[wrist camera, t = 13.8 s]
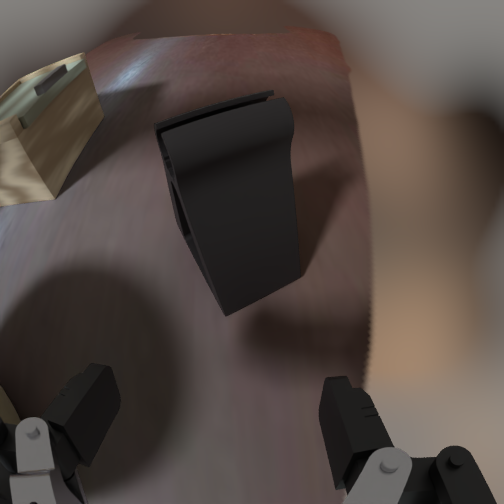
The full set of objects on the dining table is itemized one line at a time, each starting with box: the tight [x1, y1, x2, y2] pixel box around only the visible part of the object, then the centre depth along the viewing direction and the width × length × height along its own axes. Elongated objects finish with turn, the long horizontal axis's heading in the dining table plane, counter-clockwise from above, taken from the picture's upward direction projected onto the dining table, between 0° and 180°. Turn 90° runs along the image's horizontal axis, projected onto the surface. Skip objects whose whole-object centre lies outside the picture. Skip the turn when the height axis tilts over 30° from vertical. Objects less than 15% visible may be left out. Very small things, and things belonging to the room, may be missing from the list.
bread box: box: [0, 52, 105, 207], centre depth 24 cm, size 14×16×12 cm
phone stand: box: [154, 90, 301, 316], centre depth 17 cm, size 9×6×12 cm, turn 29°
